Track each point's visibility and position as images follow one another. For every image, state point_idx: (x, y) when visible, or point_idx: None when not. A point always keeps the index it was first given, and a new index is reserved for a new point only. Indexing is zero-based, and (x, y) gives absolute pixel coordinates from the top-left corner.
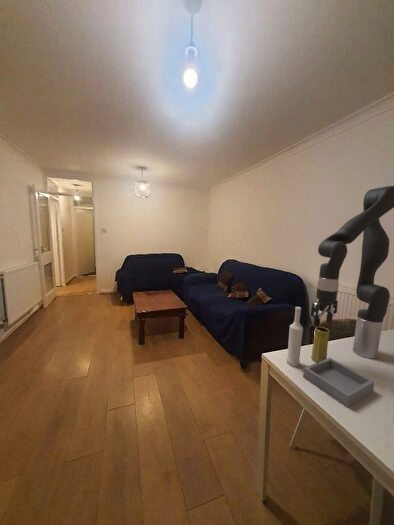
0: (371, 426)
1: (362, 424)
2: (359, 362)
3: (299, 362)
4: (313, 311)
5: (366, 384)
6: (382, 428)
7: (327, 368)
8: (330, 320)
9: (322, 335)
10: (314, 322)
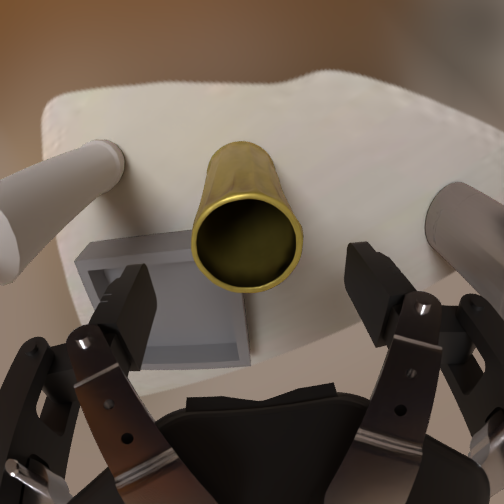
0: (144, 378)
1: (131, 372)
2: (379, 247)
3: (109, 190)
4: (27, 400)
5: (214, 366)
6: (160, 385)
7: None
8: (356, 300)
9: (211, 262)
10: (106, 302)
